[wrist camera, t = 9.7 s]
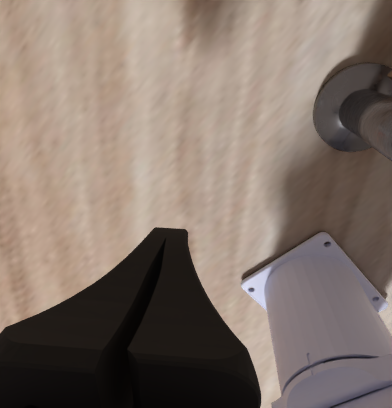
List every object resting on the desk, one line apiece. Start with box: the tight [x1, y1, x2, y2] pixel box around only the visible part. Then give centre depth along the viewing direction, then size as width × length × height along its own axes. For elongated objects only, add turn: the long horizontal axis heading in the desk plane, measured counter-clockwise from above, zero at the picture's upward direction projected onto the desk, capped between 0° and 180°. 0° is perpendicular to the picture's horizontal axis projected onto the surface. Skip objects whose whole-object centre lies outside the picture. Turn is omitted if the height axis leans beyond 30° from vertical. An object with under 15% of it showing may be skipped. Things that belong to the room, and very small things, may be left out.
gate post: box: [313, 63, 392, 161], centre depth 15 cm, size 5×5×8 cm
